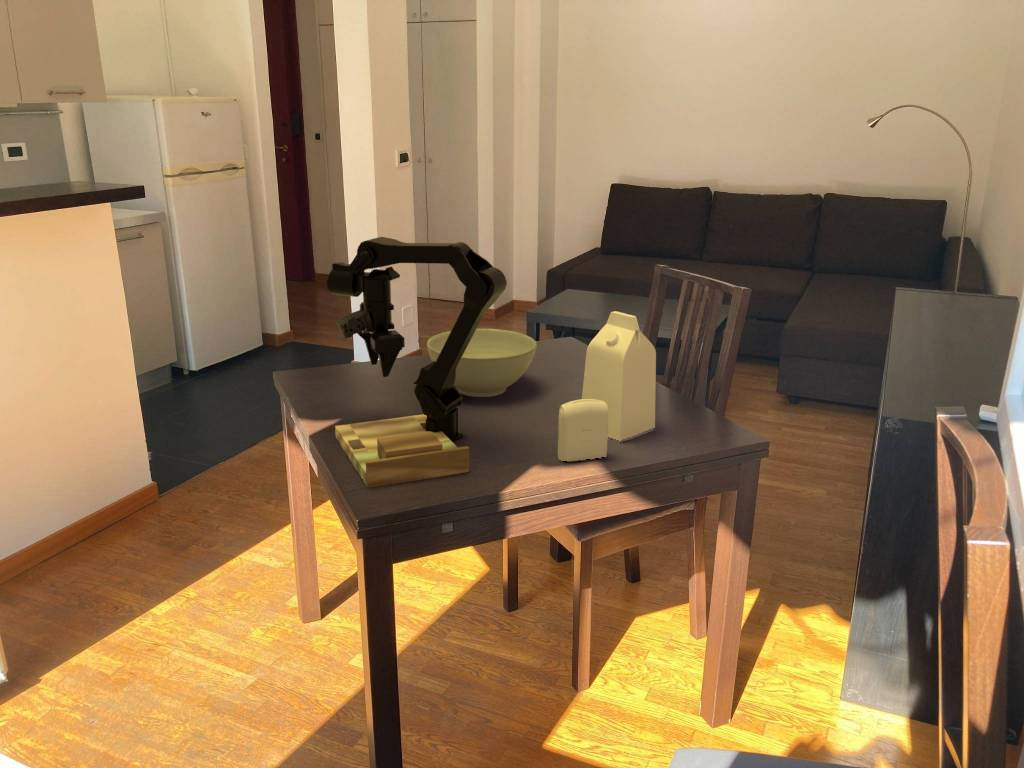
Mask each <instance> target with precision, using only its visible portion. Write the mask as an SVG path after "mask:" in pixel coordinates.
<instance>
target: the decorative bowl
mask: <svg viewBox="0 0 1024 768" xmlns="http://www.w3.org/2000/svg"><path fill="white" fill-rule="evenodd" d="M451 331H452V330H449V331H444V332H441V333H437V334H436V335H432V336H431V337H430V338H429V339H428V340H427V342H426V348H427V352H428V354H429V358H430V359H431V362H433V361H436V360H437V358H438V356H439V354H440V352H441V350H442V348H443V346H444V344H445V342H446V340H447V338H448V336H449V334H450V332H451ZM537 345H538V344H537V341H536V340H535V339H534V338H533V337H531V336H529V335H527V334H524V333H521V332H517V331H513V330H506V329H498V328H476V330H475V332H474V334H473V336H472V338H471V340H470V342H469V344H468V346H467V348H466V350H465V352H464V354H463V356H462V357H461V359H460V361H459V363H458V365H457V367H456V378H455V382H454V385H453V386H454V387H455V388H456V389H457V391H458V392H459V393H460V394H461V395H465V396H468V397H474V398H489V397H490V398H491V397H495V396H499V395H502V394H504V393H506V391H507V388H508V387H511V385H513V384H514V383H516V382H517V381H518V380H519V379H520V378H521V377H522V376H523V375H524V374H525V373H526V371H527V370H528V368H529V367H530V365H531V364H532V361H533V358H534V356H535V354H536V350H537Z"/></svg>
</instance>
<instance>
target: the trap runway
mask: <svg viewBox="0 0 1024 768" xmlns="http://www.w3.org/2000/svg"><path fill="white" fill-rule="evenodd" d="M426 419H427V415H424V414H423V413H422V414H418V415H417V414H416V415H409V416H401V417H393V418H386V419H377V420H371V421H364V422H354V423H349V424H348V423H347V424H340V425H334V429H335V438H336V440H337V441H339V442H338V443H339V445H340V446H341V448H342V449H343V452H344V453H345V455H346V456H347V457H348V459H349V460H350V462H351V464H352V466H353V467H354V468H355V470H356V471H357V473H358V475H359V477H360V478H361V480H362V479H363V480H362V481H363V483H364V485H365V486H366V488H367V489H371V487H372V488H376V487H377V488H378V487H384V486H391V485H396V484H401V483H408V482H415V481H416V482H417V481H421V480H427V479H434V478H439V477H444V476H451V475H458V474H464V473H469V472H470V447H469V446H467V445H466V446H465V445H464V446H459V447H458V446H457V445H456V444H455V443H454V442H453V441H451V440H450V439H449V438H448V437H447V436H446V435H445V434H444V433H443V432H436V433H434V435H435V436H436V437H437V438H438V440H439V441H440V442H441V443H442V448H443V450H438V451H431V452H424V453H418V454H411V455H404V456H398V457H391V458H384V459H380V458H379V457H378V450H377V438H385V437H393V436H401V435H409V434H417V433H425V432H430V431H426Z"/></svg>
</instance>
